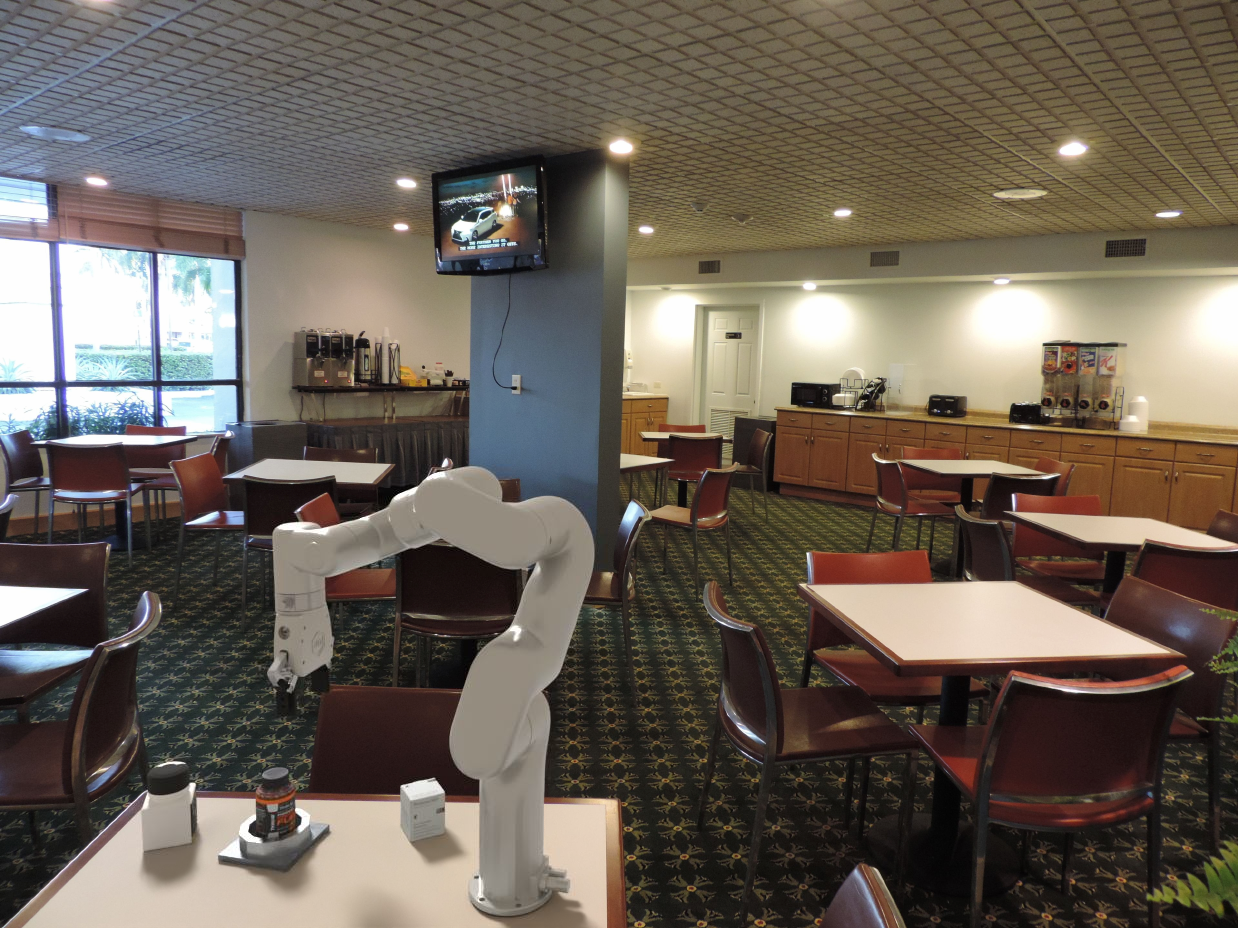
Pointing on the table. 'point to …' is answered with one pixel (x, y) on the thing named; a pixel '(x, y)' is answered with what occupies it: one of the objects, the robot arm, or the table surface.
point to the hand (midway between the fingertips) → (304, 702)
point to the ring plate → (277, 861)
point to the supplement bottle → (275, 804)
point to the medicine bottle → (169, 807)
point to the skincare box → (422, 809)
